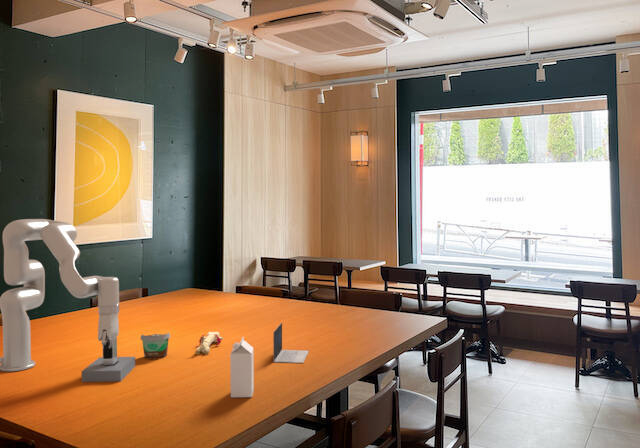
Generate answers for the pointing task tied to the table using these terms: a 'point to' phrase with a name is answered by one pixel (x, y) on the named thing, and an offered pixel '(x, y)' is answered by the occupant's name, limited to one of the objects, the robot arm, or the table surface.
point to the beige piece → (208, 342)
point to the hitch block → (108, 370)
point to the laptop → (285, 355)
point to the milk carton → (242, 370)
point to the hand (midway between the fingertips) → (109, 356)
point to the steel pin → (114, 352)
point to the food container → (155, 345)
